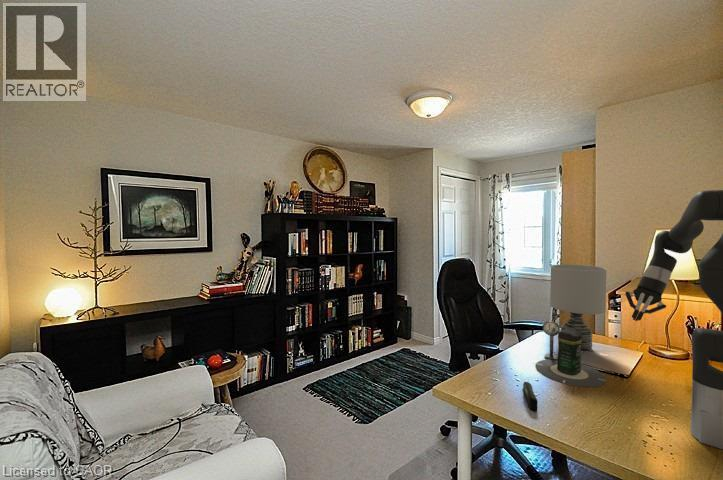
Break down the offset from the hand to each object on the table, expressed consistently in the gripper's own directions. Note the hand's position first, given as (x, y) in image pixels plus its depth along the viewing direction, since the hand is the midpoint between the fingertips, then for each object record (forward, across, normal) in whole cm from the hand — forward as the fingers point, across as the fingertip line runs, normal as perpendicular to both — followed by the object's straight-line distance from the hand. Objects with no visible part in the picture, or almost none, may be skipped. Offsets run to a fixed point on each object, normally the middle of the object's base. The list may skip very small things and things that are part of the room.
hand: (635, 320), depth 123 cm
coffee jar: (+31, +12, -13) cm, 35 cm away
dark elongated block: (+45, +17, +21) cm, 52 cm away
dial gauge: (+29, +21, -24) cm, 44 cm away
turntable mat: (+31, +12, -12) cm, 35 cm away
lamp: (+19, +16, -46) cm, 53 cm away
